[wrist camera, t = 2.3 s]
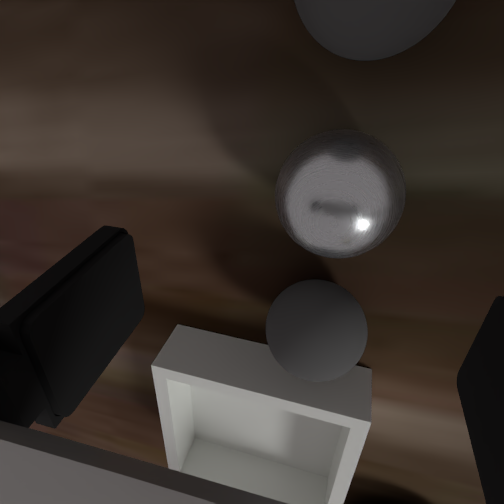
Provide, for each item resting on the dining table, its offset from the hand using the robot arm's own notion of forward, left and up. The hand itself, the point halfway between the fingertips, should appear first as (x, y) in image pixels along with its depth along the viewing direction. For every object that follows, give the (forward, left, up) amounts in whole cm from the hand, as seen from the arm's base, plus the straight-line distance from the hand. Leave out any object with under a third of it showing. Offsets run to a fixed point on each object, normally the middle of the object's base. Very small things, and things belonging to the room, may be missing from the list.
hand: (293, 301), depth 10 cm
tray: (+2, +20, -11) cm, 23 cm away
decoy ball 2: (-1, +8, -8) cm, 11 cm away
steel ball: (-1, 0, -8) cm, 8 cm away
